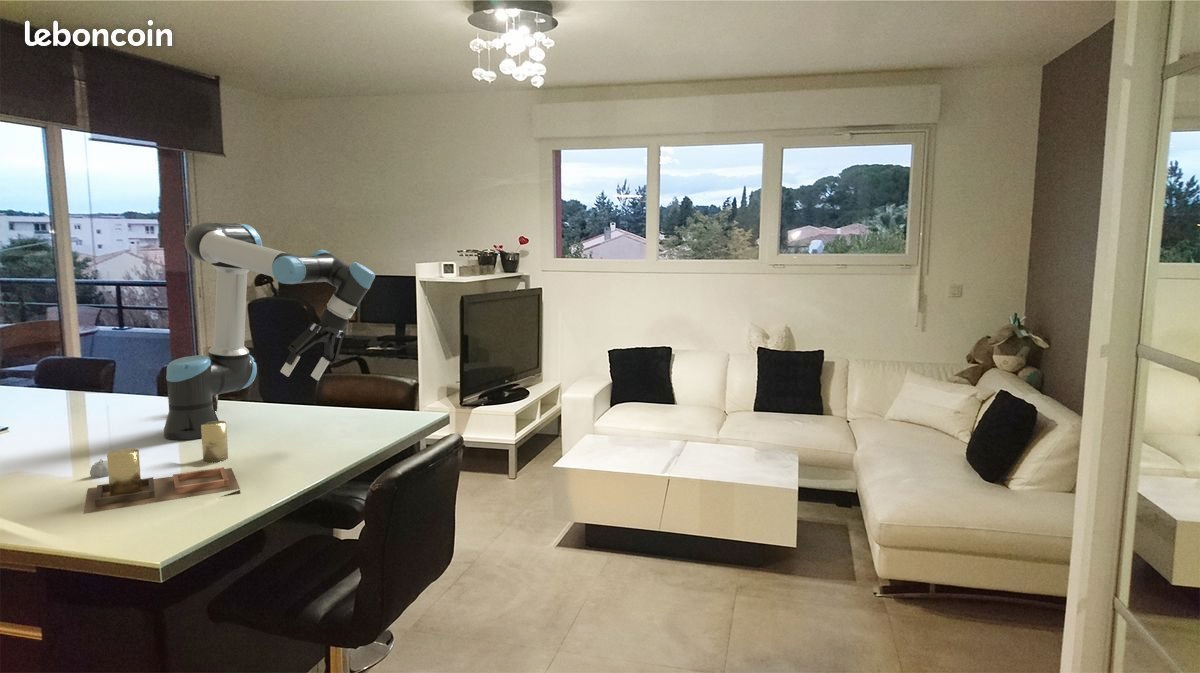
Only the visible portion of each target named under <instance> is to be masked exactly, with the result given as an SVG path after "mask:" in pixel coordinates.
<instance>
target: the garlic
mask: <svg viewBox="0 0 1200 673" xmlns="http://www.w3.org/2000/svg"><path fill="white" fill-rule="evenodd" d="M89 476H90V477H91V478H105V477H109V475H108V462H107V460H104V459H99V461H96V462H95V463H94V464H92V466H91V467H90V470H89Z"/></svg>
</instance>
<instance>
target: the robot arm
mask: <svg viewBox="0 0 1200 673" xmlns="http://www.w3.org/2000/svg"><path fill="white" fill-rule="evenodd" d="M184 246H185V249H186V251H187V253H188V254H190V256H191V257H193V258H194V259H196V260H199V261H202V262H206V263H209V264H211V266H212V268H214V270H216V279H215V280H216V281H215V308H214V309H215V310H214V311H215V312H214V339H213V342H214V343H213V346H211V347H210V348H209V349H208V354H207V355H202V354H200V355H199V354H198V355H197V354H196V355H192V356H184V357H183V356H182V357H179V358H177V359H174V360H172V361H170V362H168V364H167V366H166V376H165V379H166V383H167V384H166V385H167V397H168V398H167V400H168V414H167V417H166V421H165V423H164V427H163V437H164V438H165V439H168V440H174V441H176V440H177V441H183V440H184V441H185V440H196V439H202V433H201V424H203V423H206V422H211V421H220V420H219V418H218V416H217V414H216V412H215V411H214V409H213V402H212V396H213V395H218V396H219V395H221V394H226V393H227V394H228V393H231V392H238V391H241V390H243V389H246V388H248V387H249V386H251V385H252V384H253V382H254V381H255V379H256V376H257V373H258V371H257V370H258V368H257V366H258V365H257V363H256V362H255V358H254V357H253V356H252V355H250V350H249V349H248V348H247V347H246V346H245V337H246V336H245V335H246V310H247V291H248V290H247V287H248V273H249V272H250V271H251V272H254V273H259V274H263V275H264V276H269V277H271V278H272V277H273V278H274V279H275V280H276V281H277V282H278V283H280V284H283V285H284V284H286V285H296V284H308V283H323V282H325V283H329V285H332V286H333V288H334V287H335V288H336V289H335V291H334V292H333V294H332V296H331V297H330V299H329V300H328V303H326V306H327V307H326V308H324V309H323V311H322V313H321V314H320V316H319V321H320V323H319V324H316V323H315V322H314V321H312V322H311V323H310V324H309V326H308V327H307V328H306V329H305V330H304V331H303V332H302V333H301V334H300V335H299V336H298V337H297V338H296V339H294V340H293V341H292V342H291V343H290V344H289V345H288V346H287V349H288V350H289V351H290V353H289V355H288V357H287V358H286V360H285V363H284V364H283V366H282V367H281V369H280V373H281V374H283V375H284V376H286V377H290V376H291V373H292V372H293V370H294V368H295V367H296V365H297V363H298V362H299V361H300V358H301V356H300V355H301V354H303V353H304V352H306V351H307V350H308V349H310V348H311V347H313V346H315V344H320V343H324V345H323V347H324V350H323V351H324V352H323V356H322V357H320V359H319V361H318V363H317V364H316V366H315V368H314V369H313V371H312V373H311V374H310V377H312V378H313V379H315V381H320V379H321V377H322V375H323V374H324V372H325V370H326V369H328V366H329V364H330V363H332V364H333V363H335V361H337V360H338V358H339V354H340V351H341V347H342V343H343V339H344V338H345V336H346V332H344V330H345V329H346V327H347V325H348V324H349V322H350V319H351V318H352V317H353V315H354V313H356V310H357V308H358V307H359V306H360V304H361V302H362V300H363V299H364V297H365V295H366V294H367V292H368V291H369V290H370V289H371V286H372V284H373V282H374V280H375V278H376V274H375V272H374V271H372V270H371V269H370V268H368V267H366V266H364V265H363V264H361V263H358V262H356V261H355V262H351V263H352V264H350V265H349V264H347V262H345V261H343V260H341V259H340V258H338V257H337V256H336V255H335V254H333V253H331V252H329V251H327V250H326V249H318V250H316V251H314V252H312V254H311V255H296V254H293V253H288V252H285V251H282V250H277V249H273V248H271V247H267V246H264V245H263V242H262V239H261V236H260V234H259V233H258V232H257V230H256V229H255V228H254V227H252V226H251V225H249V224H245V223H238V222H200V223H196V224H195V225H193V226H191V228H189V229H188V230H187V232H186V234H185V236H184Z"/></svg>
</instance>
